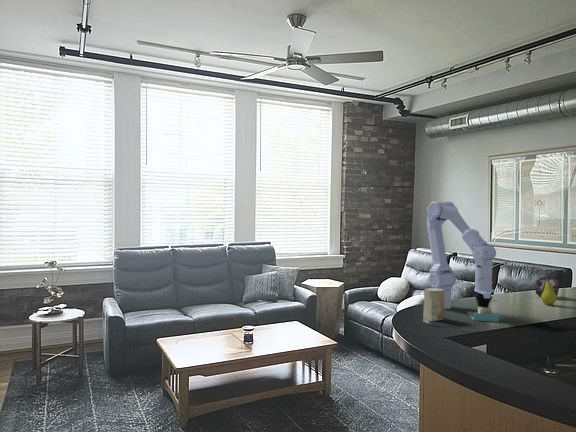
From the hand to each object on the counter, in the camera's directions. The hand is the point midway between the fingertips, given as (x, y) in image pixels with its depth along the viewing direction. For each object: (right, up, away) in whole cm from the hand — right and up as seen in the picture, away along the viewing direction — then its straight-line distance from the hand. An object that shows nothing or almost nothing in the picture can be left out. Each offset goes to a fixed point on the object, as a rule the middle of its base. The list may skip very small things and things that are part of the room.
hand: (482, 314), depth 171 cm
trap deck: (0, -3, +1) cm, 3 cm away
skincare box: (-19, -3, -4) cm, 20 cm away
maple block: (-1, -1, -3) cm, 4 cm away
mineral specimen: (+50, -2, +47) cm, 69 cm away
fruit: (+41, -3, +29) cm, 51 cm away
